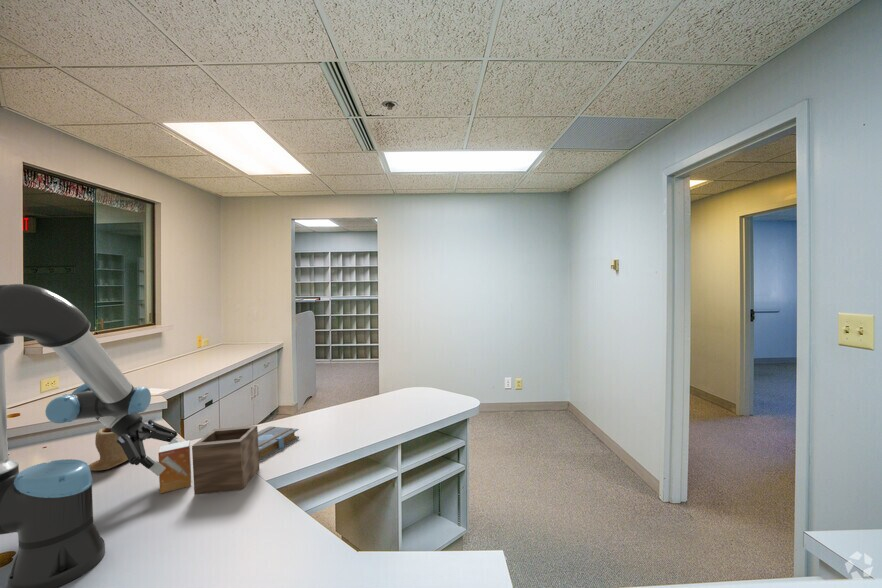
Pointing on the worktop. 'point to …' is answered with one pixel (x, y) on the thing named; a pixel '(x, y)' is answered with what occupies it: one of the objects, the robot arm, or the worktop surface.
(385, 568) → the worktop surface
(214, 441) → the open wooden box
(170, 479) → the small box
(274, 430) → the book
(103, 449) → the stone cup
